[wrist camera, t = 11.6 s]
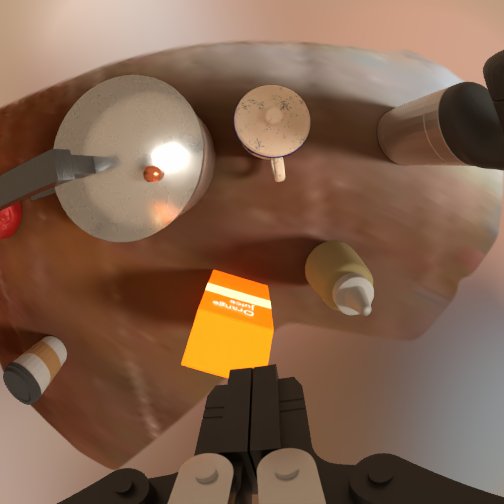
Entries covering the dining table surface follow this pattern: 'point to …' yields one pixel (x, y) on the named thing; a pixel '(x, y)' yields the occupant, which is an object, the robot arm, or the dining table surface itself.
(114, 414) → the dining table surface
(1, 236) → the pomegranate
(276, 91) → the teacup with lid
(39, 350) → the coffee cup
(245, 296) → the orange juice
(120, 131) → the cooker lid
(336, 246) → the squeeze bottle
